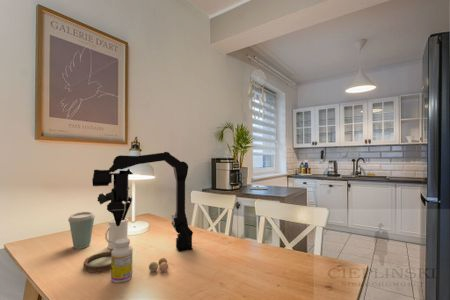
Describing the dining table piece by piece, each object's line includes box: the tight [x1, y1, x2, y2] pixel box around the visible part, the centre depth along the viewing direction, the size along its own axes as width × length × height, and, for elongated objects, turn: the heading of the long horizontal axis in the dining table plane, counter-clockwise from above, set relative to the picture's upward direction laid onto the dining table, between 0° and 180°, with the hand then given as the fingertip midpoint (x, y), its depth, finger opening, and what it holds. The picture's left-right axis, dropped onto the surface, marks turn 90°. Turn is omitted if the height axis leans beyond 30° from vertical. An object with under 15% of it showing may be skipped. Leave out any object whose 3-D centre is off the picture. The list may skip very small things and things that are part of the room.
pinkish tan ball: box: [158, 262, 169, 273], centre depth 86 cm, size 3×3×3 cm
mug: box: [104, 217, 129, 250], centre depth 109 cm, size 12×8×12 cm
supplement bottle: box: [110, 238, 133, 284], centre depth 81 cm, size 7×7×13 cm
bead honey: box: [157, 257, 168, 267], centre depth 90 cm, size 3×3×3 cm
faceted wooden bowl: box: [82, 250, 112, 274], centre depth 92 cm, size 14×14×2 cm
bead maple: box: [148, 261, 159, 273], centre depth 86 cm, size 3×3×3 cm
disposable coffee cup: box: [67, 211, 95, 250], centre depth 110 cm, size 11×11×15 cm
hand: (120, 222), depth 99 cm, fingers open, 9 cm apart
